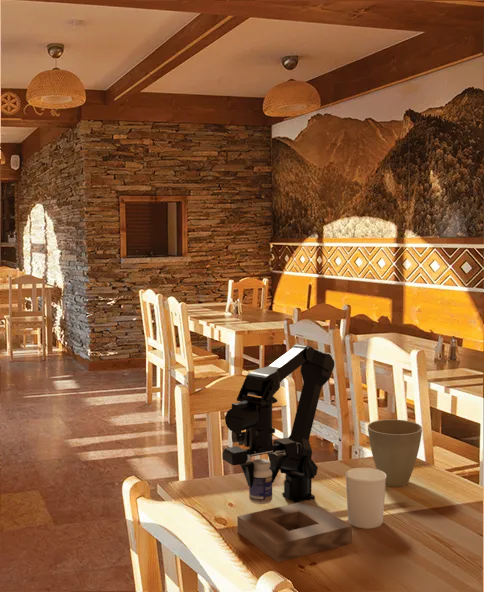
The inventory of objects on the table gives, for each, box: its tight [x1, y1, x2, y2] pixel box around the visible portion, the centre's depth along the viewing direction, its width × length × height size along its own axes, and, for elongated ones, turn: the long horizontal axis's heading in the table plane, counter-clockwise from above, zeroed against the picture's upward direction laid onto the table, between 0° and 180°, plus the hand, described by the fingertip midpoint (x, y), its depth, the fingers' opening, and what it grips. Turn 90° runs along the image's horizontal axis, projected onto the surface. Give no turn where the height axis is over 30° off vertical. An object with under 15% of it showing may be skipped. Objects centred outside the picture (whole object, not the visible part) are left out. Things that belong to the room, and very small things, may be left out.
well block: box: [236, 500, 353, 563], centre depth 182 cm, size 20×18×4 cm
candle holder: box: [345, 467, 387, 530], centre depth 190 cm, size 10×10×12 cm
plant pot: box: [367, 419, 423, 488], centre depth 217 cm, size 15×15×16 cm
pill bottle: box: [248, 458, 273, 505], centre depth 194 cm, size 6×6×10 cm
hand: (260, 484), depth 194 cm, fingers closed on pill bottle, 6 cm apart
